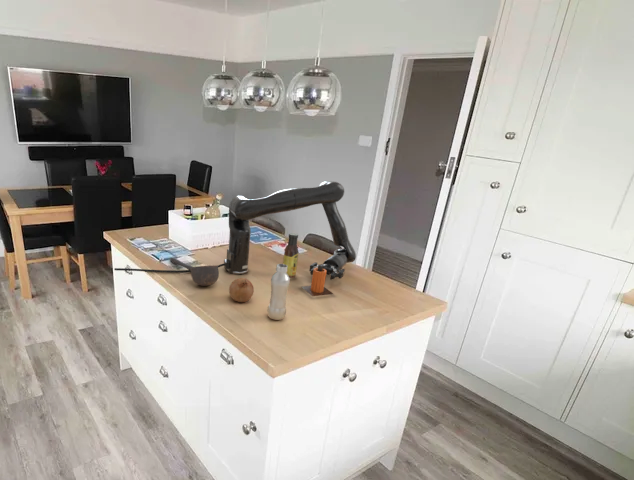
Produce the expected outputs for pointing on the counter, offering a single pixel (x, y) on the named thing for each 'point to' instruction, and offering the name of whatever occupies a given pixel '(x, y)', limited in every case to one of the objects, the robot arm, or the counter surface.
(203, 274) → the ladle
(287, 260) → the sauce bottle
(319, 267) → the stand
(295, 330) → the counter surface
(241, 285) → the onion
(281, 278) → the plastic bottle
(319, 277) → the orange grooved tube
